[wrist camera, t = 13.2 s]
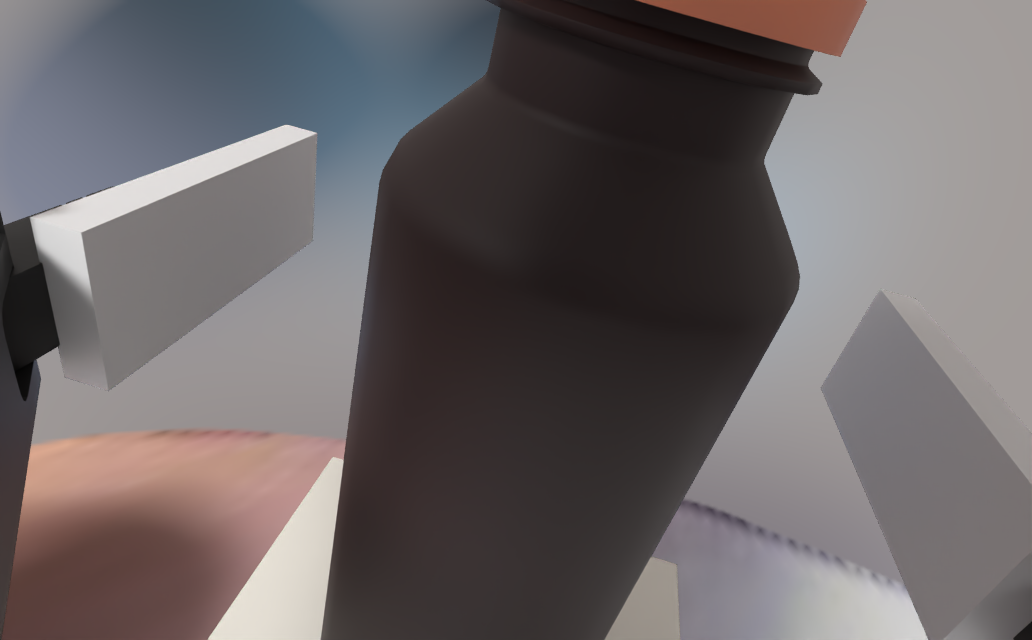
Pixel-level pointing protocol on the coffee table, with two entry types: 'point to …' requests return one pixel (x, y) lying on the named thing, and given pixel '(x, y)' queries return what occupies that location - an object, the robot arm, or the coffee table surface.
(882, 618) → the coffee table surface
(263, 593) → the riser
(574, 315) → the vinegar
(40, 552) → the coffee table surface
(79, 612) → the coffee table surface
